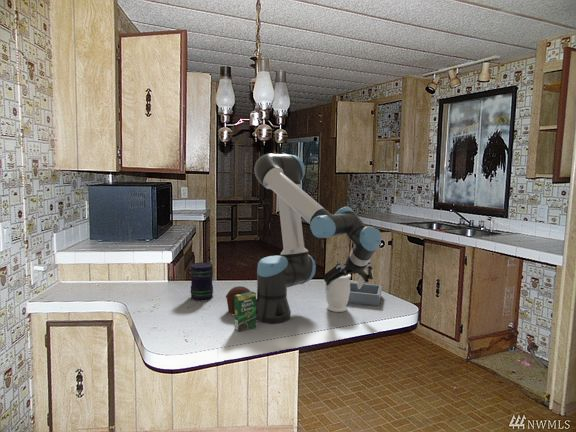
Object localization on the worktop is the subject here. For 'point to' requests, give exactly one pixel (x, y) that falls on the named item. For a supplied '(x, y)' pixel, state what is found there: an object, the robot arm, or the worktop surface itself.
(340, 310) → the white tapered cylinder
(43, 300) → the worktop surface
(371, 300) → the bin
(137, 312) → the worktop surface
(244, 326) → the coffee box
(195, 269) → the storage jar
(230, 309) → the muffin
